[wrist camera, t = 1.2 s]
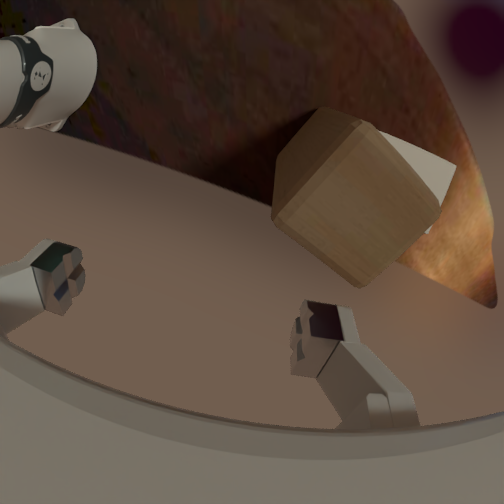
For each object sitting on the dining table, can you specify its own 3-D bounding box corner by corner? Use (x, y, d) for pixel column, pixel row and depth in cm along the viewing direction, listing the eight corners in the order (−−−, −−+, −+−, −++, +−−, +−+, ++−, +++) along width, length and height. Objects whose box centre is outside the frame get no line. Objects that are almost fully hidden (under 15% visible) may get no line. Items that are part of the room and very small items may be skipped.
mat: (345, 207, 40) (346, 208, 40) (372, 128, 34) (373, 128, 33) (427, 233, 41) (427, 234, 41) (455, 165, 35) (456, 166, 34)
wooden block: (329, 204, 40) (360, 297, 23) (273, 159, 37) (264, 224, 20) (377, 153, 35) (450, 213, 18) (322, 102, 33) (363, 114, 16)
